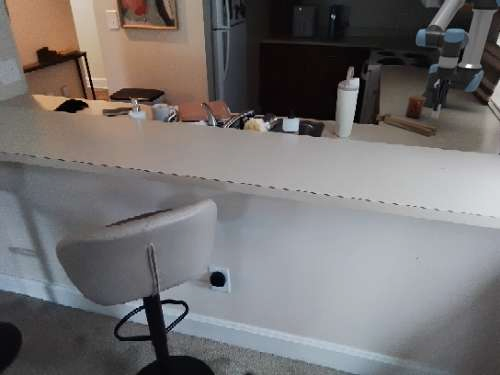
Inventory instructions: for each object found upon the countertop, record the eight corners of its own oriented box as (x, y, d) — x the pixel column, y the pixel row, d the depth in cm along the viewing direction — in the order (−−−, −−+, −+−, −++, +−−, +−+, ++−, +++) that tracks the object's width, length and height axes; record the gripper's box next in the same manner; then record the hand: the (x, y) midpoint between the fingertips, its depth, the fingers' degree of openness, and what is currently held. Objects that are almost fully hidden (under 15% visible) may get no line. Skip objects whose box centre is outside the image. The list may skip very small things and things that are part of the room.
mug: (402, 113, 205) (406, 94, 201) (419, 115, 204) (424, 96, 199) (406, 120, 195) (410, 100, 190) (424, 121, 194) (429, 101, 189)
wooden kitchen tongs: (382, 118, 197) (383, 112, 195) (434, 134, 176) (436, 127, 175) (376, 120, 194) (377, 113, 193) (428, 136, 174) (430, 129, 172)
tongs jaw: (391, 121, 192) (392, 115, 191) (435, 133, 177) (437, 127, 175) (388, 121, 191) (389, 116, 190) (432, 134, 175) (434, 128, 174)
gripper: (446, 63, 177) (434, 112, 189) (430, 66, 171) (419, 117, 182) (462, 66, 172) (449, 116, 183) (447, 69, 165) (434, 121, 177)
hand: (434, 117), depth 183 cm, fingers closed
